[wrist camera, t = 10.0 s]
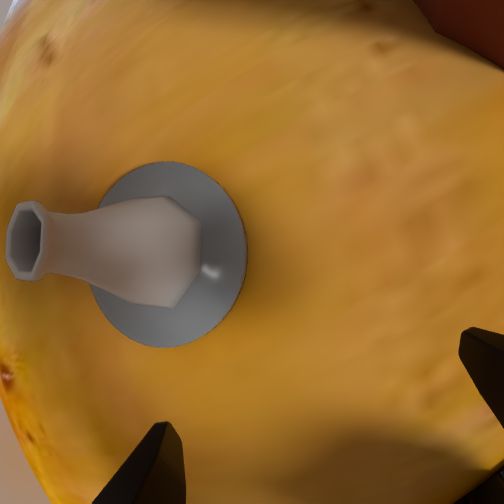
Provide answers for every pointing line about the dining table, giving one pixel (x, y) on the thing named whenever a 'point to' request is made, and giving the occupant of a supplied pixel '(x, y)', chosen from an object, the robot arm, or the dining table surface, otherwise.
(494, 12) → the bucket
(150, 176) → the slate coaster
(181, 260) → the flask
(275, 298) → the dining table surface
